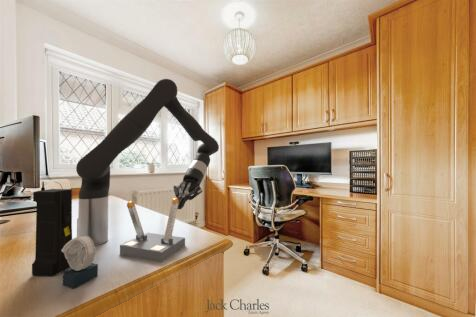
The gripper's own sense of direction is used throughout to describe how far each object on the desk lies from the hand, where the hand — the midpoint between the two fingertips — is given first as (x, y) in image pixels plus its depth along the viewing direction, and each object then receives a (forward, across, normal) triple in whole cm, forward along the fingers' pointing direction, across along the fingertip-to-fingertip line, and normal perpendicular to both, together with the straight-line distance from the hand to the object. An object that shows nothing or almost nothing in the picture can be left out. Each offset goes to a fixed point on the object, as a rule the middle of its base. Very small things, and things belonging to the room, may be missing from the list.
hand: (178, 208), depth 71 cm
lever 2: (+11, 0, +3) cm, 12 cm away
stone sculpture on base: (+28, -10, -9) cm, 31 cm away
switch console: (+14, -6, +5) cm, 16 cm away
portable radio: (+27, -22, -8) cm, 36 cm away
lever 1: (+11, -11, +3) cm, 16 cm away
